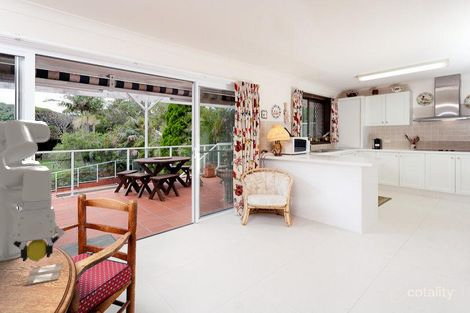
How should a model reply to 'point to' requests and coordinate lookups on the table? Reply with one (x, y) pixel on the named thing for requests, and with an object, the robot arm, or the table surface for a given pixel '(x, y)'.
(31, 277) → the label board
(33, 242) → the lemon
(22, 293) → the table surface
